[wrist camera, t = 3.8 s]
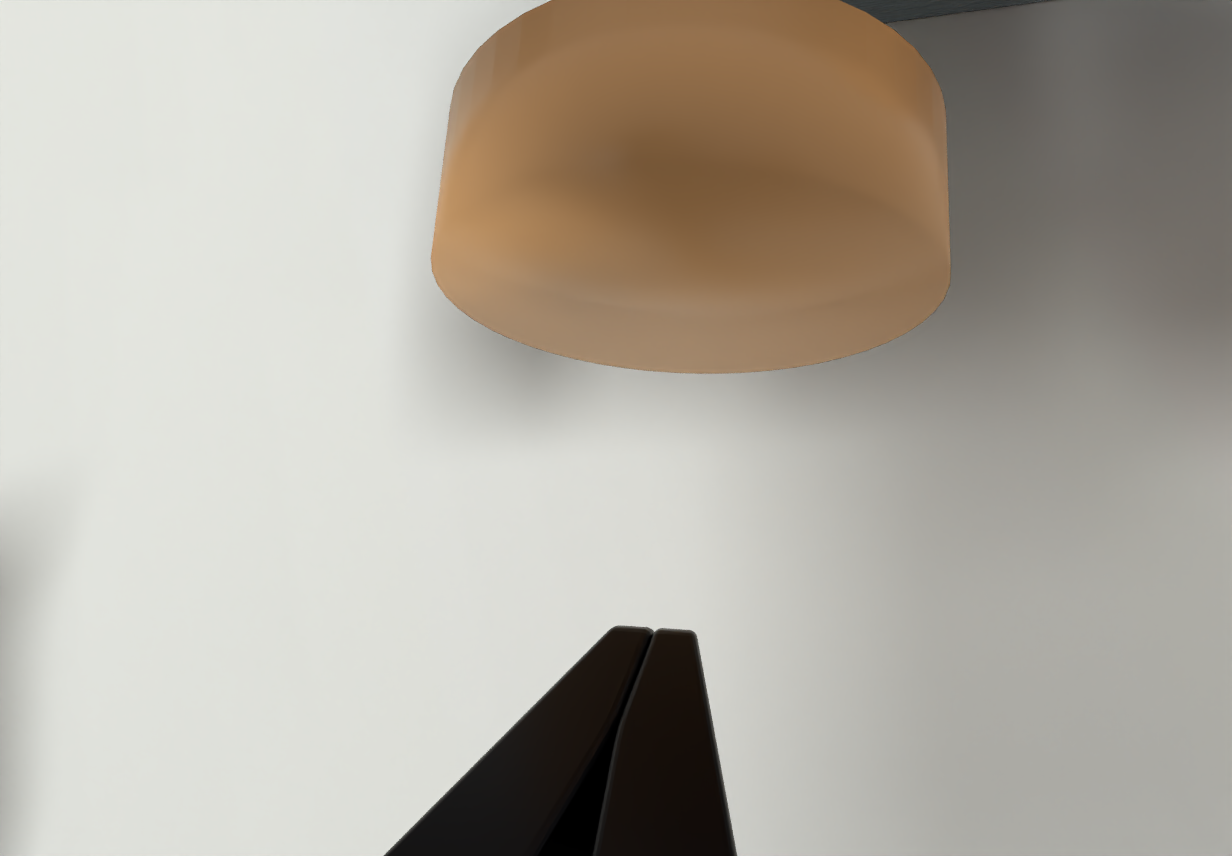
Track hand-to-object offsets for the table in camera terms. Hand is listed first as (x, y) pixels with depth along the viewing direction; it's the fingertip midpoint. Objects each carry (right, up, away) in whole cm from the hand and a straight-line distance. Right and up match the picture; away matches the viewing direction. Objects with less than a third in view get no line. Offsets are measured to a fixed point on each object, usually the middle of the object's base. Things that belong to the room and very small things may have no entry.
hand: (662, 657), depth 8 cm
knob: (+2, +11, +5) cm, 12 cm away
